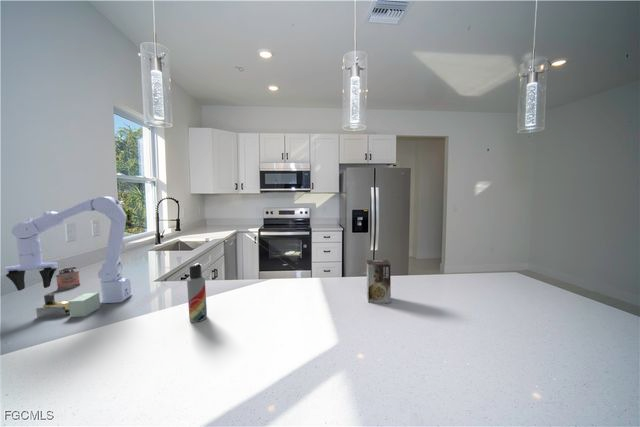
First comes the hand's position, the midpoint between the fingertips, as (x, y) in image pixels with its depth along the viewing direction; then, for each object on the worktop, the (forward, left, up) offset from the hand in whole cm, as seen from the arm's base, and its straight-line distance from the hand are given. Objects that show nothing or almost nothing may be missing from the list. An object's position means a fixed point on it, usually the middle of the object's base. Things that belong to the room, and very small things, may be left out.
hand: (34, 288), depth 96 cm
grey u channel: (-9, +2, -10) cm, 13 cm away
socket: (-19, +2, -10) cm, 21 cm away
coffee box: (-134, +6, -10) cm, 134 cm away
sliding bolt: (-10, +2, -8) cm, 13 cm away
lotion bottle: (-65, +13, -10) cm, 67 cm away
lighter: (+10, -27, -10) cm, 30 cm away
